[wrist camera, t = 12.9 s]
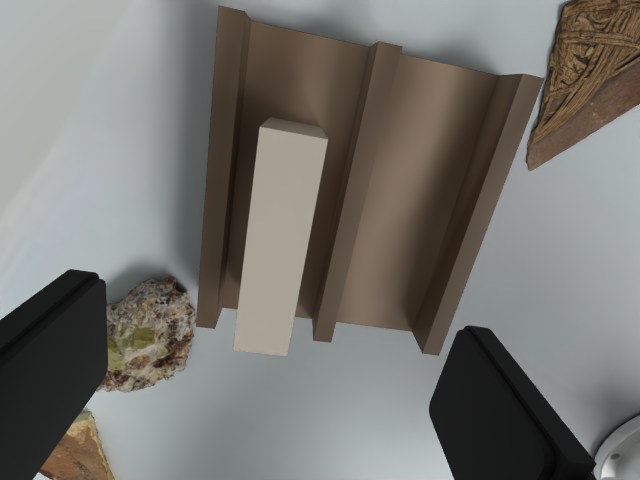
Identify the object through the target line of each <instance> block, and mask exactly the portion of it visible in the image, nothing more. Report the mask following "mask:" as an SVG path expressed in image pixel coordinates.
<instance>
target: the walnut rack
mask: <svg viewBox="0 0 640 480" xmlns="http://www.w3.org/2000/svg"><path fill="white" fill-rule="evenodd" d="M401 50H402V46H397V45H393V44H388V43H384V42H377V43H375V44H374V45H372V46H370V47H367V46H363V45H358V44H354V43H349V42H345V41H340V40H336V39H331V38H327V37H322V36H317V35H313V34H308V33H304V32H299V31H295V30H290V29H286V28H281V27H277V26H272V25H268V24H263V23H259V22H254V21H251V20H250V18H249V17H248V15H247V14H246V12H245V11H241V10H236V9H232V8H227V7H223V6H219V9H218V23H217V37H216V51H215V65H214V79H213V93H212V107H211V121H210V135H209V149H208V163H207V178H206V192H205V206H204V220H203V234H202V248H201V262H200V276H199V290H198V304H197V318H196V327H204V328H213V329H215V327H216V324H217V321H218V318H219V316H220V313H221V310H222V307H223V308H231V309H238V303H239V295H240V287H241V278H242V270H243V262H244V253H245V245H246V237H247V228H248V220H249V212H250V204H251V195H252V187H253V179H254V170H255V162H256V154H257V145H258V137H259V129H260V126H261V125H262V124H263V123H264V122H265V121H266V120H268V119H269V118H270V117H272V118H277V119H282V120H288V121H293V122H298V123H303V124H308V125H314V126H319V127H321V128H322V130H323V132H324V133H325V135H326V137H327V139H328V143H327V148H326V153H325V158H324V164H323V169H322V174H321V179H320V185H319V190H318V195H317V201H316V206H315V211H314V216H313V222H312V227H311V232H310V237H309V243H308V248H307V253H306V258H305V264H304V269H303V274H302V280H301V285H300V290H299V295H298V301H297V306H296V311H295V316H294V317H302V318H310V319H312V324H313V341H322V342H330V343H331V340H332V336H333V332H334V328H335V324H336V322H342V323H350V324H357V325H365V326H373V327H381V328H389V329H397V330H405V331H412V332H413V334H414V336H415V339H416V341H417V343H418V345H419V347H420V349H421V351H422V353H423V354H431V355H439V353H440V351H441V348H442V346H443V343H444V340H445V338H446V335H447V333H448V330H449V327H450V325H451V322H452V319H453V317H454V314H455V312H456V309H457V306H458V304H459V301H460V298H461V296H462V293H463V291H464V288H465V285H466V283H467V280H468V277H469V275H470V272H471V270H472V267H473V264H474V262H475V259H476V256H477V254H478V251H479V249H480V246H481V243H482V241H483V238H484V236H485V233H486V230H487V228H488V225H489V222H490V220H491V217H492V215H493V212H494V209H495V207H496V204H497V201H498V199H499V196H500V194H501V191H502V188H503V186H504V183H505V180H506V178H507V175H508V173H509V170H510V167H511V165H512V162H513V159H514V157H515V154H516V152H517V149H518V146H519V144H520V141H521V139H522V136H523V133H524V131H525V128H526V125H527V123H528V120H529V118H530V115H531V112H532V110H533V107H534V104H535V102H536V99H537V97H538V94H539V91H540V89H541V86H542V83H543V81H544V78H540V77H536V76H532V75H527V74H512V75H494V74H490V73H485V72H480V71H476V70H471V69H467V68H462V67H458V66H453V65H449V64H444V63H440V62H435V61H431V60H426V59H422V58H417V57H413V56H408V55H404V54H401Z"/></svg>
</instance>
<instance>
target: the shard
mask: <svg viewBox="0 0 640 480" xmlns="http://www.w3.org/2000/svg"><path fill="white" fill-rule="evenodd" d="M38 472H39V473H41V474H43V475H44V476H46V477H48V478H50V479H52V480H115V478H114V476H113V474H112V473H111V471H110V468H109V465H108V463H107V460H106V458H105V457H104V455H103V451H102V447H101V443H100V439H99V438H98V434H97V429H96V425H95V420H94V419H93V417H92V413H91V412H85V413H80V414H79V415H78V417H77V418H76V419H75V421H74V422H73V424H72V425H71V426H70V428H69V429H68V431H67V432H66V433H65V435H64V436H63V438H62V439H61V440H60V442H59V443H58V445H57V446H56V447H55V449H54V450H53V452H52V453H51V455H50V456H49V457H48V459H47V460H46V462H45V463H44V464H43V466H42V467H41V469H40V470H39V471H38Z"/></svg>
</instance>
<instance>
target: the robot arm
mask: <svg viewBox="0 0 640 480" xmlns="http://www.w3.org/2000/svg"><path fill="white" fill-rule="evenodd" d="M107 370H108V340H107V309H106V284H105V281H104V280H102V279H99V276H98V274H97V273H94V272H87V271H80V270H72V269H70V270H68V271H66V272H65V273H64V274H62V275H61V276H60V277H58V278H57V279H55V280H54V281H53V282H51V283H50V284H49V285H47V286H46V287H45V288H43V289H42V290H40V291H39V292H38V293H36V294H35V295H34V296H32V297H31V298H30V299H28V300H27V301H26V302H24V303H23V304H21V305H20V306H19V307H17V308H16V309H15V310H13V311H12V312H11V313H9V314H8V315H6V316H5V317H4V318H2V319H1V320H0V480H33V478H34V477H35V476H36V474H37V473H38V471H39V470H40V469H41V467H42V466H43V464H44V463H45V462H46V460H47V459H48V457H49V456H50V455H51V453H52V452H53V450H54V449H55V447H56V446H57V445H58V443H59V442H60V440H61V439H62V438H63V436H64V435H65V433H66V432H67V431H68V429H69V428H70V426H71V425H72V424H73V422H74V421H75V419H76V418H77V417H78V415H79V414H80V412H81V411H82V409H83V408H84V407H85V405H86V404H87V402H88V401H89V400H90V398H91V397H92V395H93V394H94V393H95V391H96V390H97V388H98V387H99V386H100V384H101V383H102V381H103V380H104V378H105V376H106V373H107ZM429 413H430V418H431V420H432V423H433V426H434V428H435V431H436V433H437V436H438V438H439V441H440V444H441V446H442V449H443V451H444V454H445V456H446V459H447V462H448V464H449V467H450V469H451V472H452V475H453V477H454V480H640V415H639V416H637V417H635V418H633V419H631V420H629V421H628V422H626V423H624V424H623V425H622V426H620V427H619V428H618V429H616V430H615V431H614V432H613V433H612V434H611V435H610V436H609V437H608V438H607V439H606V440H605V441H604V443H603V444H602V445H601V447H600V448H599V450H598V452H597V454H596V456H595V460H593V459H592V457H591V456H590V455H589V454H588V452H587V451H586V450H585V448H584V447H583V446H582V445H581V443H580V442H579V441H578V440H577V438H576V437H575V436H574V435H573V433H572V432H571V431H570V430H569V428H568V427H567V426H566V424H565V423H564V422H563V421H562V419H561V418H560V417H559V416H558V414H557V413H556V412H555V411H554V409H553V408H552V407H551V405H550V404H549V403H548V402H547V400H546V399H545V398H544V397H543V395H542V394H541V393H540V392H539V390H538V389H537V388H536V386H535V385H534V384H533V383H532V381H531V380H530V379H529V378H528V376H527V375H526V374H525V373H524V371H523V370H522V369H521V368H520V366H519V365H518V364H517V362H516V361H515V360H514V359H513V357H512V356H511V355H510V354H509V352H508V351H507V350H506V349H505V347H504V346H503V345H502V343H501V342H500V341H499V340H498V338H497V337H496V336H495V335H494V333H493V332H492V331H491V330H490V329H488V328H483V327H476V326H469V325H468V326H466V327H465V328H464V329H463V330H459V331H458V332H457V334H456V337H455V339H454V342H453V344H452V347H451V349H450V352H449V355H448V357H447V360H446V362H445V365H444V368H443V370H442V373H441V375H440V378H439V381H438V383H437V386H436V388H435V391H434V394H433V396H432V399H431V401H430V405H429ZM593 469H594V475H595V477H594V475H593V474H592V473H591V472H592V471H593Z"/></svg>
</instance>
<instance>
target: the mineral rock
mask: <svg viewBox="0 0 640 480" xmlns="http://www.w3.org/2000/svg"><path fill="white" fill-rule="evenodd" d="M188 296H189V294H187V293H186V292H184V293H182V292H180V291H179V290H178V288H177V283H176V280H175V279H173V278H168V279H164V280H163V281H161V282H157V281H156V280H154V279H152V280H148V281H146V282H143V283H140V284H139V285H138V286H137V287H136V288H135V289H134V290H131V291H130V293H129V294H128V296H127V297H126V298H125V299H123V300H122V301H121V302H120V303H118V304H116V303H114V304H109V305H106V309H107V340H108V370H107V373H106V376H105V378H104V380H103V381H102V383H101V384H100V386H99V387H98V388H97V390H96V391H97V392H98V391H101V390H105V391H107V392H110V391H114V390H119V391H122V392H124V393H127V392H130V391H134V390H139V389H143V388H146V387H151V386H152V385H153V386H154V384H155V383H156V382H157V381H159V380H161V379H162V378H163V377H164V378H165V380H169V379H171V378H173V377H174V376H173V374H174V372H175V371H183V370H184V369H185V367H186V365H185V362H186V359H187V357H188V356H187V354H188V353H189V350H190V347H191V342H192V341H191V339H192V338H193V337H194V335H193V331H192V327H193V324H194V323H195V322H196V315H195V312H194V311H195V310H194V309H193V308H191V307H190V306H188V305H189V298H188Z"/></svg>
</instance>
